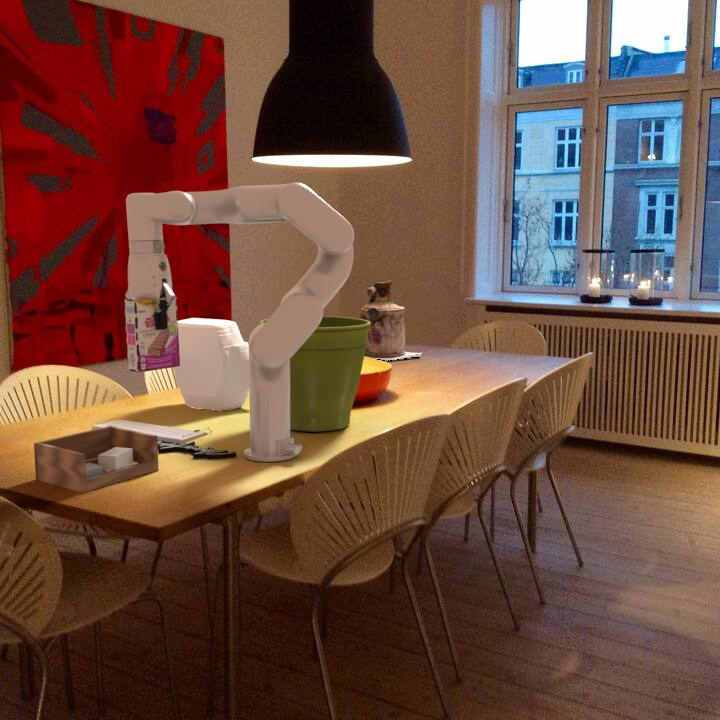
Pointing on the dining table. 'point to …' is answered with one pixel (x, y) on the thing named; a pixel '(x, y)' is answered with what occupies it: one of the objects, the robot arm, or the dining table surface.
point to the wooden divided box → (93, 457)
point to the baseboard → (157, 430)
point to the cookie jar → (384, 325)
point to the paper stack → (212, 364)
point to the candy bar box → (150, 336)
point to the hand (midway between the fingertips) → (152, 327)
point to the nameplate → (193, 450)
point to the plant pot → (327, 374)
